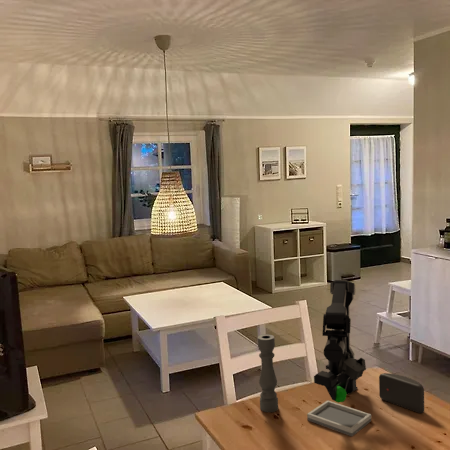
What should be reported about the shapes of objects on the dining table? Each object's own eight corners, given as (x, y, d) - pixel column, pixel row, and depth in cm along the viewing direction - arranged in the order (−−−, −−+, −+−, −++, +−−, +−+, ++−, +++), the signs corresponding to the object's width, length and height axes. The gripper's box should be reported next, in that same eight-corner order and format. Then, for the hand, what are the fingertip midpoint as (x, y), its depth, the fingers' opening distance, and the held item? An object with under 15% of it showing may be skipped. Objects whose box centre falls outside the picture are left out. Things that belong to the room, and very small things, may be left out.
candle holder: (257, 411, 169) (254, 339, 166) (263, 402, 174) (260, 333, 172) (275, 413, 166) (272, 340, 164) (280, 405, 172) (277, 334, 169)
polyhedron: (349, 399, 160) (348, 385, 159) (344, 406, 156) (343, 392, 155) (334, 396, 162) (333, 382, 162) (328, 403, 158) (327, 389, 157)
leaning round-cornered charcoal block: (429, 410, 163) (429, 383, 162) (422, 415, 160) (422, 387, 159) (385, 395, 175) (385, 369, 174) (378, 399, 172) (377, 373, 171)
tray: (307, 420, 161) (307, 413, 160) (327, 406, 169) (327, 400, 169) (352, 436, 149) (351, 429, 149) (371, 420, 158) (371, 414, 158)
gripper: (344, 365, 145) (345, 416, 146) (374, 346, 158) (376, 393, 160) (312, 356, 152) (313, 405, 154) (343, 339, 166) (345, 384, 167)
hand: (338, 397), depth 159 cm, fingers closed on polyhedron, 5 cm apart
